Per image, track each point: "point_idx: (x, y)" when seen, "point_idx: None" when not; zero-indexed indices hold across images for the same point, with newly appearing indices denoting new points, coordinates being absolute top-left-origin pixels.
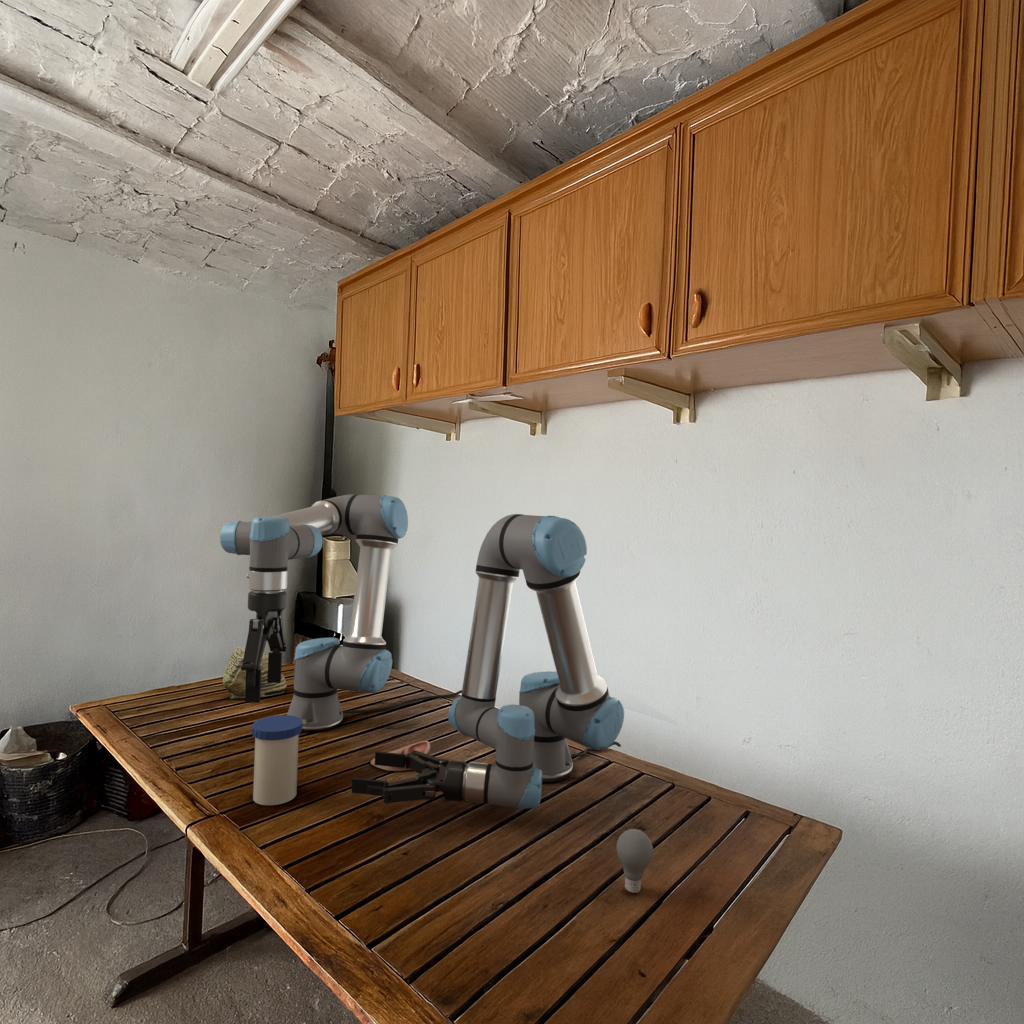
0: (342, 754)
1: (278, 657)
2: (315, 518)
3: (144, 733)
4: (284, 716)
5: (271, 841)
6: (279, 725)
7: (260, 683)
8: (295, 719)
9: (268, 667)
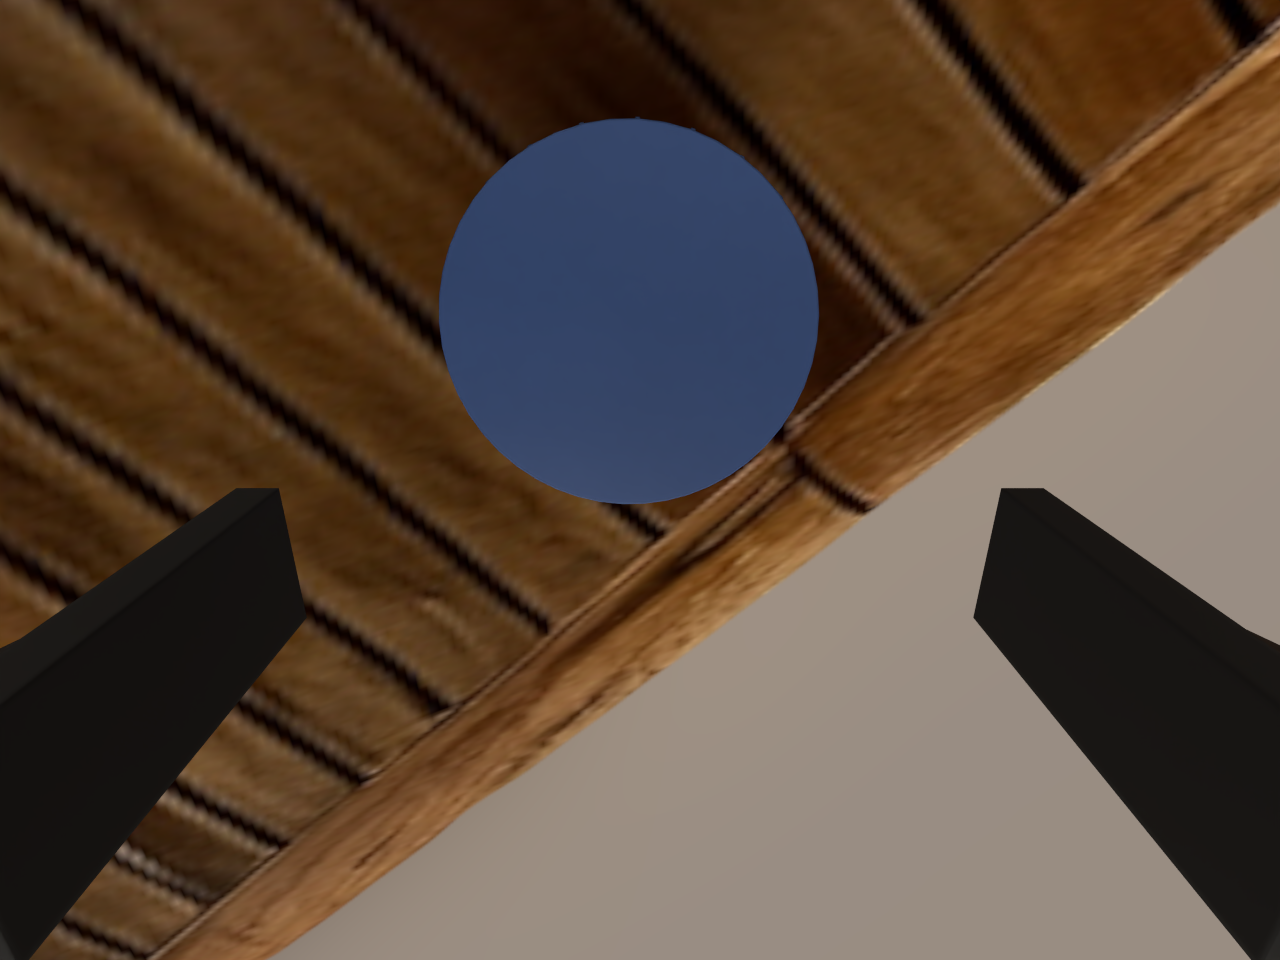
0: (107, 39)
1: (19, 741)
2: None
3: (172, 909)
4: (473, 323)
5: (1031, 162)
6: (684, 300)
7: (1160, 599)
8: (532, 206)
9: (200, 738)
